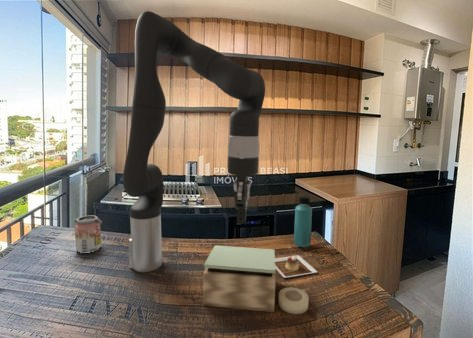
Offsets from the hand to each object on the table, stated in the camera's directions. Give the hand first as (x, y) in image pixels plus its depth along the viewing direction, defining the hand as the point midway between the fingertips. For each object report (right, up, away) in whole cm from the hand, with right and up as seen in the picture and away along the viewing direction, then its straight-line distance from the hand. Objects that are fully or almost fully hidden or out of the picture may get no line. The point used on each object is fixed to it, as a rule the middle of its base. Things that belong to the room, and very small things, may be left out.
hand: (241, 222), depth 69 cm
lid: (0, -11, +5) cm, 12 cm away
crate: (0, -21, +7) cm, 22 cm away
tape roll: (+14, -22, +2) cm, 26 cm away
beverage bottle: (+24, -17, +36) cm, 46 cm away
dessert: (+17, -20, +21) cm, 33 cm away
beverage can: (-55, -16, +31) cm, 66 cm away
